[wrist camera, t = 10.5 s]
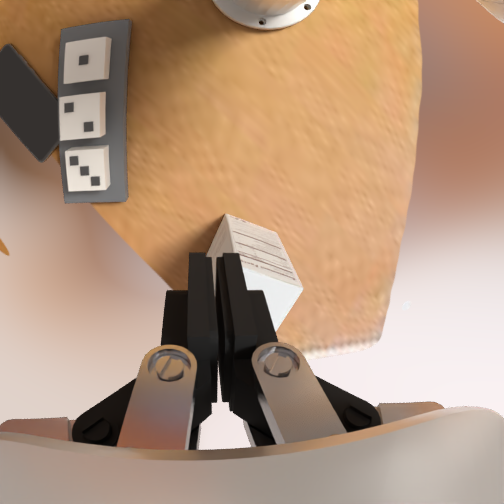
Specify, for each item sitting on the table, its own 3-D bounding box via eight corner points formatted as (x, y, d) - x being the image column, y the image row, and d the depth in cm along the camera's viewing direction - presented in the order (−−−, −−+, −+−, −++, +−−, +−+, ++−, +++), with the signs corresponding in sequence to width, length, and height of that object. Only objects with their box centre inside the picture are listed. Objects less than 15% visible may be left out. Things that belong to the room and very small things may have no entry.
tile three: (71, 147, 30) (64, 151, 28) (108, 144, 31) (102, 148, 29) (74, 185, 32) (67, 192, 30) (110, 184, 33) (105, 190, 31)
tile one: (72, 44, 24) (64, 42, 22) (111, 38, 25) (105, 36, 23) (70, 83, 27) (62, 84, 25) (108, 79, 27) (103, 78, 25)
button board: (66, 30, 24) (61, 29, 23) (132, 21, 26) (129, 19, 24) (69, 199, 35) (64, 203, 33) (128, 197, 36) (125, 201, 35)
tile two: (66, 96, 26) (58, 97, 24) (105, 91, 27) (99, 92, 25) (67, 137, 29) (59, 141, 27) (105, 134, 29) (99, 137, 27)
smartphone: (41, 165, 31) (-26, 86, 23) (44, 163, 32) (-21, 85, 24) (78, 122, 30) (7, 40, 22) (81, 121, 31) (11, 40, 23)
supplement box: (253, 276, 44) (270, 341, 33) (202, 259, 42) (205, 325, 31) (278, 231, 41) (306, 289, 30) (225, 210, 39) (236, 266, 28)
